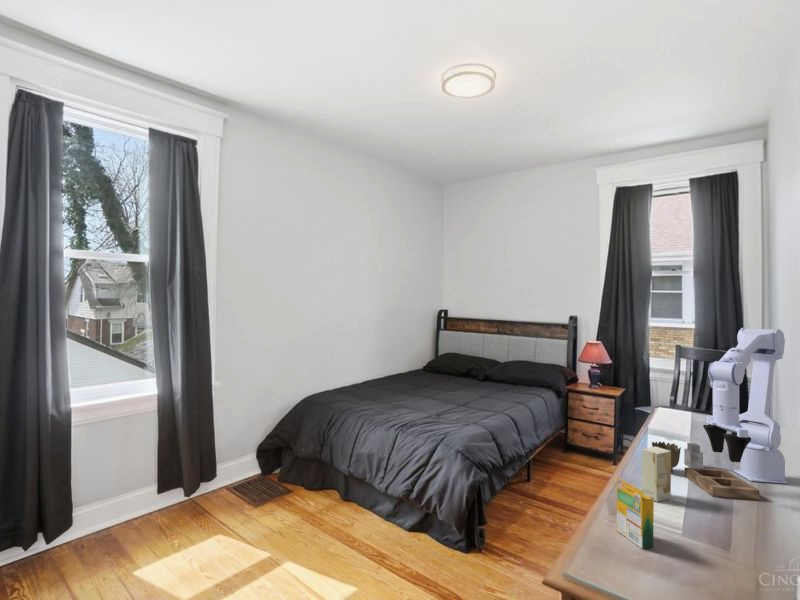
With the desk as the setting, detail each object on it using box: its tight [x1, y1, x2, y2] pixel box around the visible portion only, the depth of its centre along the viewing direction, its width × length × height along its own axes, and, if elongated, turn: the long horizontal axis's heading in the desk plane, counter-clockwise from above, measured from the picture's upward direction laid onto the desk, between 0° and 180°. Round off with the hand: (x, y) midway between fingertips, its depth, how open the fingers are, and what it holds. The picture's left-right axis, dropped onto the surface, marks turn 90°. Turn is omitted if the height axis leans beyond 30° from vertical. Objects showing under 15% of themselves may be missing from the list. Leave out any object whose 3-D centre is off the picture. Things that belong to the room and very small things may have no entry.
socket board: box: [683, 466, 760, 501], centre depth 115 cm, size 11×14×2 cm
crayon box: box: [616, 477, 655, 550], centre depth 88 cm, size 7×3×12 cm, turn 12°
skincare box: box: [640, 446, 672, 502], centre depth 109 cm, size 6×4×12 cm
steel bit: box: [683, 442, 704, 469], centre depth 131 cm, size 4×4×7 cm
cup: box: [651, 441, 682, 473], centre depth 127 cm, size 8×7×8 cm
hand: (726, 456), depth 113 cm, fingers open, 7 cm apart
